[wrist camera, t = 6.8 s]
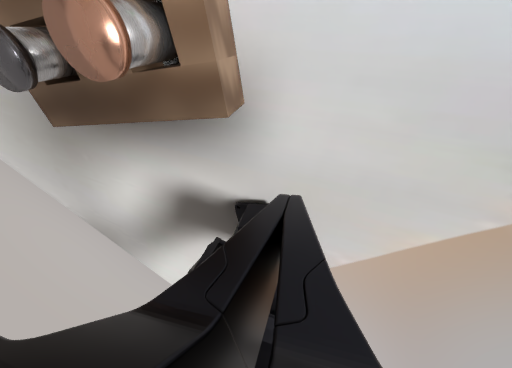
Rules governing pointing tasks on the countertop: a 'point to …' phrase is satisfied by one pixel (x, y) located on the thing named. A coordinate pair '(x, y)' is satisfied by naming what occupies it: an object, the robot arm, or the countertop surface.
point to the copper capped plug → (109, 35)
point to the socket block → (149, 72)
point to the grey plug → (29, 58)
